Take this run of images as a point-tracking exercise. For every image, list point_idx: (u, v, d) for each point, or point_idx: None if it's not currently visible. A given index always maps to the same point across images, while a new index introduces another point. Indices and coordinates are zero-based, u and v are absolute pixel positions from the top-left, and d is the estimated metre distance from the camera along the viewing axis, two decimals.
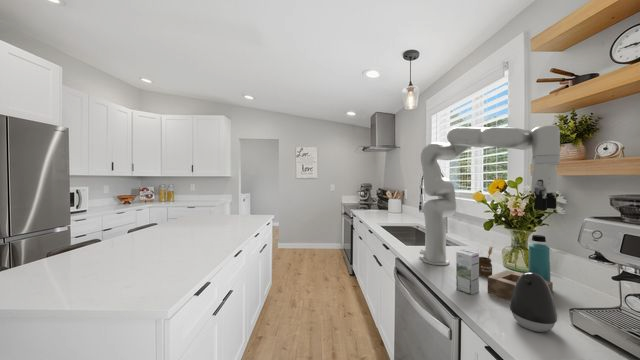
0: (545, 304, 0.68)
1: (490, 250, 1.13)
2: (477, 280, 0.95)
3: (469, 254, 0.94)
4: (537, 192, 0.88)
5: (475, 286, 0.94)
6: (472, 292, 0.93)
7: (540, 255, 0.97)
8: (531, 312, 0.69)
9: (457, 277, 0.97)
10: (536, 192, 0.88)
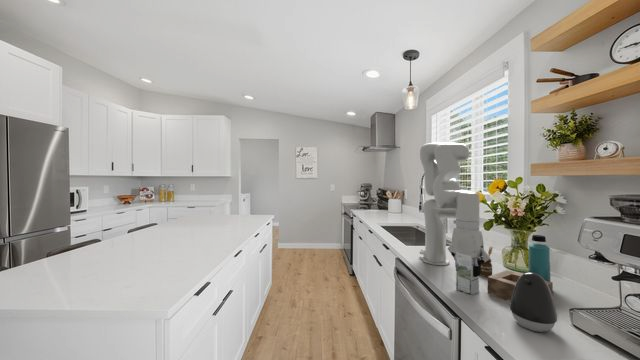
0: (545, 304, 0.68)
1: (490, 250, 1.13)
2: (477, 280, 0.95)
3: None
4: (485, 261, 0.91)
5: (475, 286, 0.94)
6: (472, 292, 0.93)
7: (540, 255, 0.97)
8: (531, 312, 0.69)
9: (457, 277, 0.97)
10: (484, 262, 0.91)
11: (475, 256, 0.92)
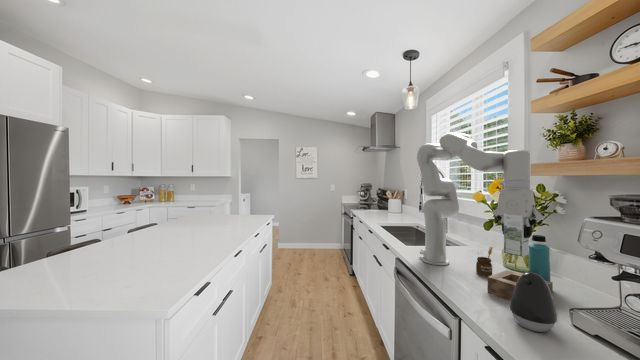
0: (545, 304, 0.68)
1: (490, 250, 1.13)
2: (527, 242, 0.91)
3: None
4: (537, 221, 0.87)
5: (526, 249, 0.90)
6: (523, 254, 0.89)
7: (540, 255, 0.97)
8: (531, 312, 0.69)
9: (505, 240, 0.92)
10: (537, 221, 0.87)
11: (527, 215, 0.87)
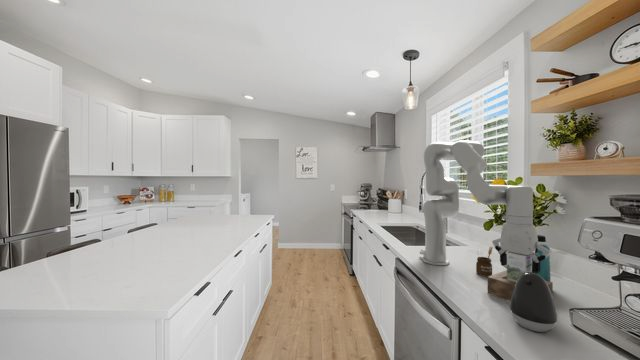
0: (545, 304, 0.68)
1: (490, 250, 1.13)
2: None
3: (522, 255, 0.89)
4: (546, 257, 0.85)
5: None
6: None
7: (540, 255, 0.97)
8: (531, 312, 0.69)
9: (508, 279, 0.92)
10: (546, 257, 0.85)
11: (530, 253, 0.87)
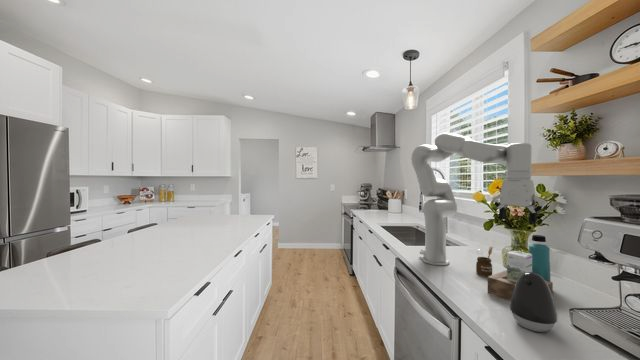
0: (545, 304, 0.68)
1: (490, 250, 1.13)
2: None
3: (522, 255, 0.89)
4: (542, 207, 0.91)
5: None
6: None
7: (540, 255, 0.97)
8: (531, 312, 0.69)
9: None
10: (542, 207, 0.91)
11: (527, 204, 0.93)
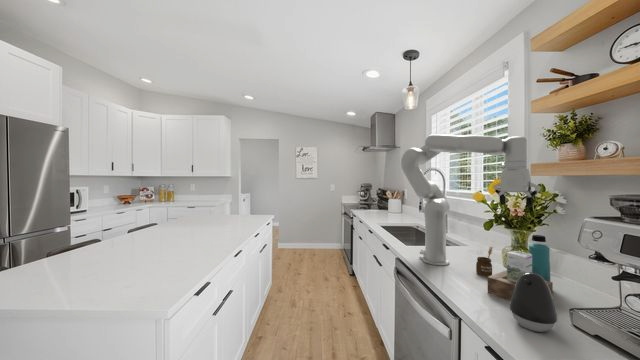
0: (545, 304, 0.68)
1: (490, 250, 1.13)
2: None
3: (522, 255, 0.89)
4: (537, 192, 1.04)
5: None
6: None
7: (540, 255, 0.97)
8: (531, 312, 0.69)
9: None
10: (537, 192, 1.04)
11: (524, 190, 1.06)
